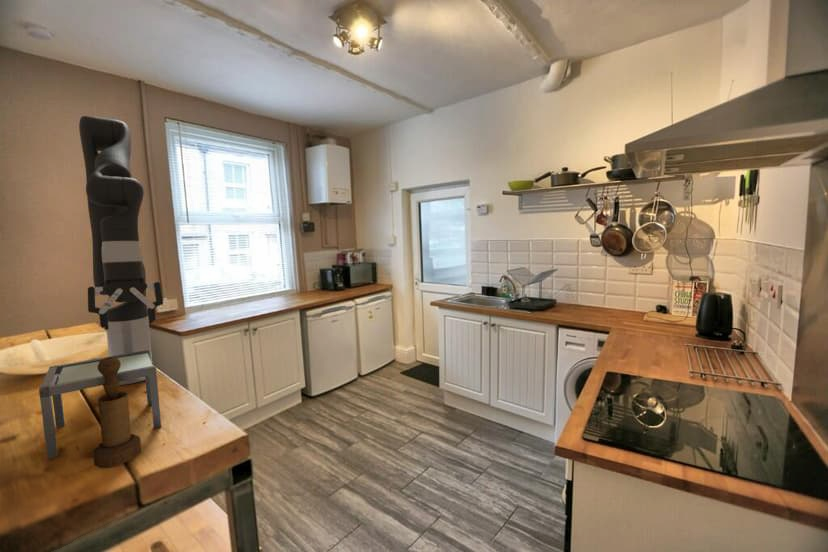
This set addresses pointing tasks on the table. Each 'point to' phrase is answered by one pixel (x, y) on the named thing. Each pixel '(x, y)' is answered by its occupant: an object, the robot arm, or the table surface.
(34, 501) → the table surface
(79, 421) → the table surface
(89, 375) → the trapdoor
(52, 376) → the frame
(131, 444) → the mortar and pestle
